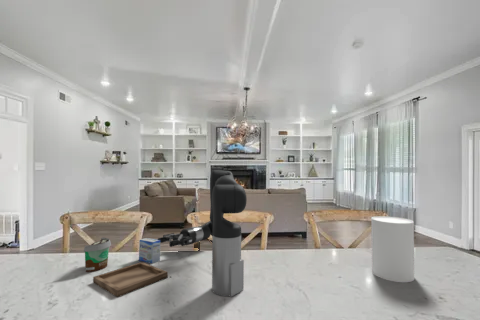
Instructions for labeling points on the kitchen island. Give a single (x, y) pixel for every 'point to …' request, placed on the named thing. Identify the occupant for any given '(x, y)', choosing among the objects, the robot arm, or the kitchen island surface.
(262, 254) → the kitchen island surface
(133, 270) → the walnut tray
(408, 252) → the canister
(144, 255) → the medicine box
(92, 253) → the food container
